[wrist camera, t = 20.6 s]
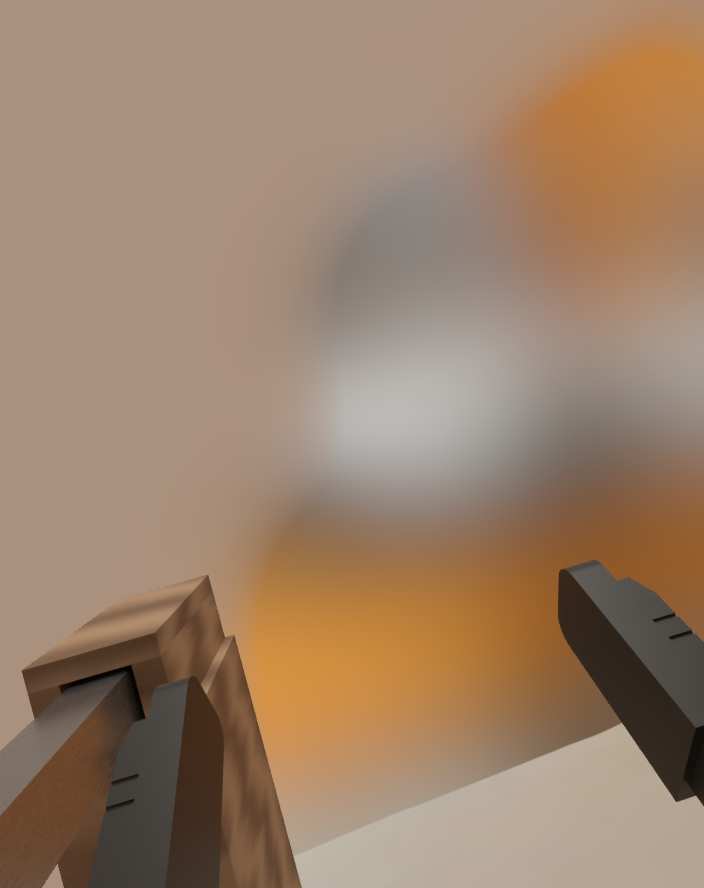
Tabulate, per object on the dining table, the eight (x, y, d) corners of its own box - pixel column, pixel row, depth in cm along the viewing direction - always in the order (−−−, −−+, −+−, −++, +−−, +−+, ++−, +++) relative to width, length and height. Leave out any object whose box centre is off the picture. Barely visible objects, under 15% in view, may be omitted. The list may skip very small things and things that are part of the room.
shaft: (-400, 1579, 6) (-463, 1341, 6) (-670, 1681, 6) (-736, 1437, 6) (185, 662, 33) (173, 618, 33) (140, 676, 33) (128, 631, 33)
